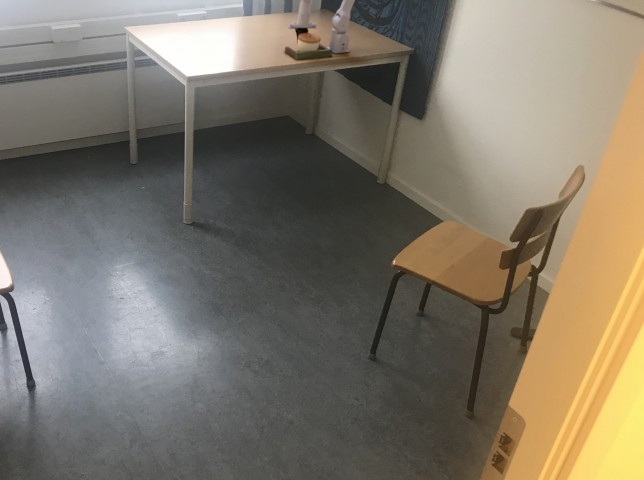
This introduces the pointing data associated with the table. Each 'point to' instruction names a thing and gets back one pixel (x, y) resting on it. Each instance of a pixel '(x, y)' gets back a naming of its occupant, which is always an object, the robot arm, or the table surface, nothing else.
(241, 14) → the table surface
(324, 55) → the olive green tray
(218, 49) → the table surface
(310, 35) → the trinket box
